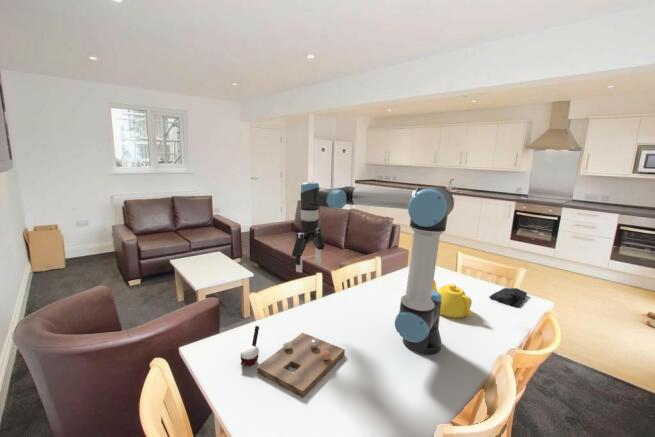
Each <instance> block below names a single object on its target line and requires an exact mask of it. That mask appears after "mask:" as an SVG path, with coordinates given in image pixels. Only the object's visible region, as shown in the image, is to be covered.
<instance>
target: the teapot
mask: <svg viewBox="0 0 655 437" xmlns="http://www.w3.org/2000/svg"><path fill="white" fill-rule="evenodd" d="M432 290H435V291H437V292H439V293H440V294H441V297H442V298H441V301H442V302H441V309H440V316H443V317H446V318H450V319H462V318H463V317H465V316H466V317H468V318H469V317H472V316H473V314H472V311H471V307H472V304H473V302H472V299H471V298H470V297H469V296H468V295H467V294H466V293H465V291H464V289H462V288H460V287H458V286H457V285H455V284H452V283H449V284H448V285H446V284H445V285H442V286H440V287H439V288H437V282H436V281H435V279H434V280H433V287H432Z"/></svg>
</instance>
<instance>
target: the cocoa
mask: <svg viewBox="0 0 655 437" xmlns="http://www.w3.org/2000/svg"><path fill="white" fill-rule="evenodd" d="M259 331H260V326H258V325H255V326H254V332H253V338H252V344H251V345H248V346H246V347H244V348H242V349H241V350H240V352H239V354H240V360H241V361H240V365H241V367H251V366H254V365H256V363H257V362H258V360H259V353H260V350H259V347H258V346H257V342H258V336H259Z"/></svg>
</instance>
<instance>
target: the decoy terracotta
mask: <svg viewBox="0 0 655 437" xmlns="http://www.w3.org/2000/svg"><path fill="white" fill-rule="evenodd" d="M330 357H331V354H330V352H329V351H324V352H323V353H322V358H323V359H324V360H329V359H330Z"/></svg>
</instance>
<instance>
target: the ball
mask: <svg viewBox="0 0 655 437" xmlns="http://www.w3.org/2000/svg"><path fill="white" fill-rule="evenodd" d="M310 347H311V348H312V349H316V348H317V347H318V342H317V341H316V340H312V341H311V342H310Z"/></svg>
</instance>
